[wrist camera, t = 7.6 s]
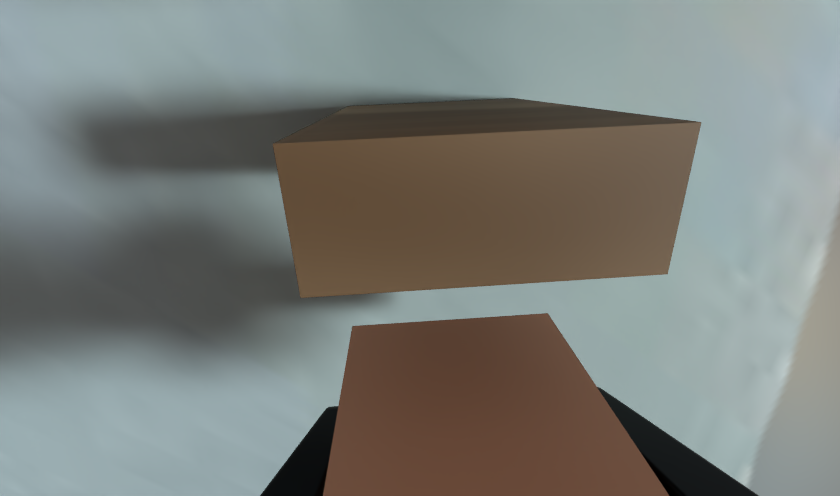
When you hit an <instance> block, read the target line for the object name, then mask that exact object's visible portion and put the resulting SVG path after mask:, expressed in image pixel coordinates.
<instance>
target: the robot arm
mask: <svg viewBox="0 0 840 496" xmlns="http://www.w3.org/2000/svg"><path fill="white" fill-rule="evenodd" d="M597 388H598V390H599V391H600V393H601V394H602V396H603V397H604V399H605V400H606V402H607V403H608V405H609V406H610V408H611V409H612V411H613V412H614V414H615V415H616V417H617V418H618V419H619V421H620V422H621V424H622V425H623V427H624V428H625V430H626V431H627V433H628V434H629V436H630V437H631V439H632V440H633V442H634V443H635V445H636V446H637V448H638V449H639V451H640V452H641V454H642V455H643V457H644V458H645V460H646V461H647V463H648V464H649V466H650V467H651V469H652V470H653V472H654V473H655V475H656V476H657V478H658V479H659V481H660V482H661V484H662V485H663V487H664V488H665V490H666V491H667V493H668V494H669V496H758V495H757V494H755V493H754V492H753V491H751V490H750V489H748V488H747V487H745V486H744V485H742V484H741V483H739V482H738V481H736V480H735V479H733V478H732V477H730V476H729V475H728V474H726V473H725V472H723V471H722V470H720V469H719V468H717V467H716V466H714V465H713V464H711V463H710V462H708V461H707V460H705V459H704V458H703V457H701V456H700V455H698V454H697V453H695V452H694V451H692V450H691V449H689V448H688V447H686V446H685V445H683V444H682V443H680V442H679V441H678V440H676V439H675V438H673V437H672V436H670V435H669V434H667V433H666V432H664V431H663V430H661V429H660V428H658V427H657V426H655V425H654V424H653V423H651V422H650V421H648V420H647V419H645V418H644V417H642V416H641V415H639V414H638V413H636V412H635V411H633V410H632V409H630V408H629V407H628V406H626V405H625V404H623V403H622V402H620V401H619V400H617V399H616V398H614V397H613V396H611V395H610V394H608V393H607V392H605V391H604V390H602V389H601V388H599V387H597ZM337 412H338V406H334V407H328V408H327V409H326V410H325V411H324V412H323V413H322V415H321V416H320V417H319V419H318V420H317V421H316V423H315V424H314V425H313V427H312V428H311V429H310V431H309V432H308V433H307V435H306V436H305V437H304V439H303V440H302V441H301V442H300V444H299V445H298V446H297V448H296V449H295V450H294V452H293V453H292V454H291V456H290V457H289V458H288V460H287V461H286V462H285V464H284V465H283V466H282V468H281V469H280V470H279V472H278V473H277V474H276V475H275V477H274V478H273V479H272V481H271V482H270V483H269V485H268V486H267V487H266V489H265V490H264V491H263V493H262V494H261V495H260V496H323V493H324V487H325V481H326V475H327V470H328V464H329V458H330V452H331V447H332V441H333V435H334V429H335V424H336V418H337Z"/></svg>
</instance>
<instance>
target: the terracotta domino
mask: <svg viewBox="0 0 840 496" xmlns="http://www.w3.org/2000/svg"><path fill="white" fill-rule="evenodd" d="M323 496H669V494H668V493H667V491H666V490H665V488H664V487H663V485H662V484H661V482H660V481H659V479H658V478H657V476H656V475H655V473H654V472H653V470H652V469H651V467H650V466H649V464H648V463H647V461H646V460H645V458H644V457H643V455H642V454H641V452H640V451H639V449H638V448H637V446H636V445H635V443H634V442H633V440H632V439H631V437H630V436H629V434H628V433H627V431H626V430H625V428H624V427H623V425H622V424H621V422H620V421H619V419H618V418H617V417H616V415H615V414H614V412H613V411H612V409H611V408H610V406H609V405H608V403H607V402H606V400H605V399H604V397H603V396H602V394H601V393H600V391H599V390H598V388H597V387H596V385H595V384H594V382H593V381H592V379H591V378H590V376H589V375H588V373H587V372H586V370H585V369H584V367H583V366H582V364H581V363H580V361H579V360H578V358H577V357H576V355H575V354H574V352H573V351H572V349H571V348H570V346H569V345H568V343H567V342H566V340H565V339H564V337H563V336H562V334H561V333H560V331H559V330H558V328H557V327H556V325H555V324H554V322H553V321H552V319H551V318H550V316H549V315H548V313H546V314H530V315H515V316H500V317H485V318H470V319H454V320H439V321H424V322H409V323H394V324H378V325H363V326H352V332H351V338H350V343H349V349H348V355H347V361H346V366H345V372H344V378H343V384H342V389H341V395H340V401H339V406H338V412H337V418H336V424H335V429H334V435H333V441H332V447H331V452H330V458H329V464H328V470H327V475H326V481H325V487H324V493H323Z"/></svg>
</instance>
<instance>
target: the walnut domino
mask: <svg viewBox="0 0 840 496" xmlns="http://www.w3.org/2000/svg"><path fill="white" fill-rule="evenodd" d="M700 126H701V122H696V121H688V120H680V119H672V118H664V117H656V116H649V115H641V114H633V113H625V112H617V111H610V110H602V109H594V108H586V107H578V106H570V105H563V104H555V103H547V102H539V101H531V100H524V99H516V98H509V99H488V100H466V101H445V102H424V103H403V104H381V105H360V106H348V107H346V108H344V109H342V110H340V111H338V112H336V113H334V114H332V115H330V116H328V117H326V118H324V119H322V120H320V121H318V122H316V123H314V124H312V125H310V126H308V127H305V128H303V129H301V130H299V131H297V132H295V133H293V134H291V135H289V136H287V137H285V138H283V139H281V140H279V141H277V142H275V143H273V148H274V154H275V159H276V165H277V170H278V176H279V181H280V187H281V193H282V198H283V204H284V209H285V215H286V220H287V226H288V231H289V237H290V242H291V248H292V253H293V259H294V264H295V270H296V275H297V281H298V286H299V292H300V297H301V298H308V297H323V296H338V295H354V294H369V293H385V292H400V291H415V290H431V289H446V288H462V287H477V286H492V285H508V284H523V283H539V282H554V281H569V280H585V279H600V278H616V277H631V276H646V275H662V274H668V270H669V265H670V261H671V256H672V252H673V247H674V243H675V238H676V234H677V229H678V225H679V220H680V216H681V211H682V207H683V202H684V198H685V193H686V189H687V184H688V180H689V175H690V171H691V166H692V162H693V157H694V153H695V148H696V144H697V139H698V135H699V130H700Z"/></svg>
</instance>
